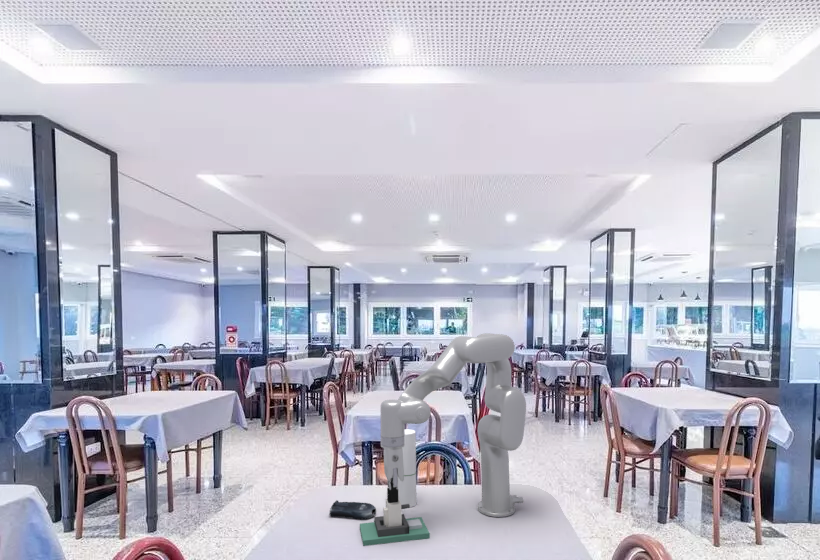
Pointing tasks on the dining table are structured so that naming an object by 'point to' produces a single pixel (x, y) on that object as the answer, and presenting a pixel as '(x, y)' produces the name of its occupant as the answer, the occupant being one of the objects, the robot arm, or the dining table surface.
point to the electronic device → (352, 510)
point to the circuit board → (393, 531)
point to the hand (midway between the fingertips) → (392, 501)
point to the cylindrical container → (408, 470)
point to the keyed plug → (393, 513)
